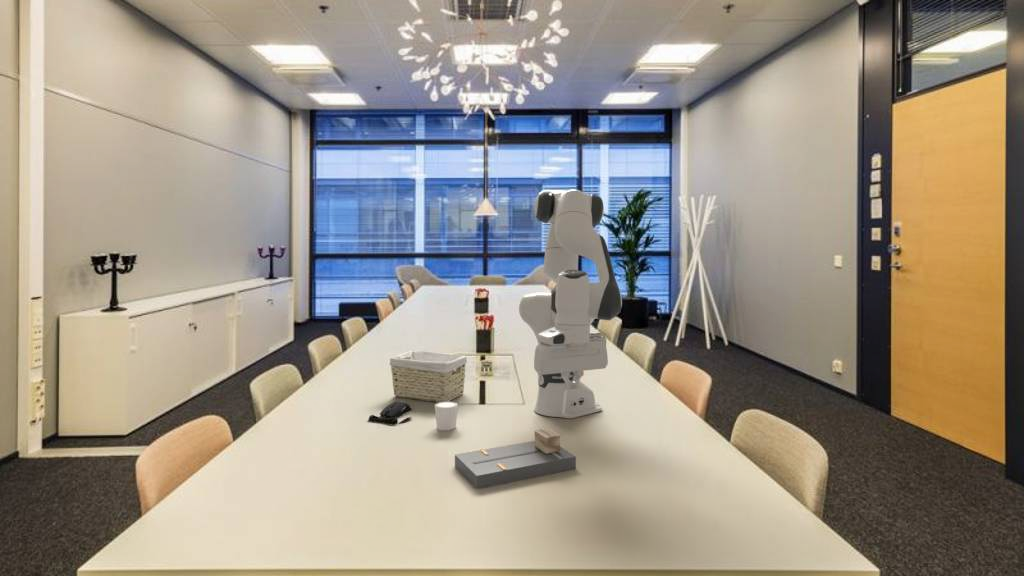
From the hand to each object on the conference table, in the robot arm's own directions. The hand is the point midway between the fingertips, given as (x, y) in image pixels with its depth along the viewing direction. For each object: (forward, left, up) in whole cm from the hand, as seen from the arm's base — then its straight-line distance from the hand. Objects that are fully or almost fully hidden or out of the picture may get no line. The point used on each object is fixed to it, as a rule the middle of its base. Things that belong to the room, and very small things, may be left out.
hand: (571, 388), depth 140 cm
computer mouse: (+31, -53, -19) cm, 64 cm away
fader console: (+16, 0, -18) cm, 24 cm away
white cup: (+21, -36, -18) cm, 46 cm away
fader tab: (+7, 0, -15) cm, 16 cm away
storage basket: (+15, -72, -18) cm, 76 cm away
